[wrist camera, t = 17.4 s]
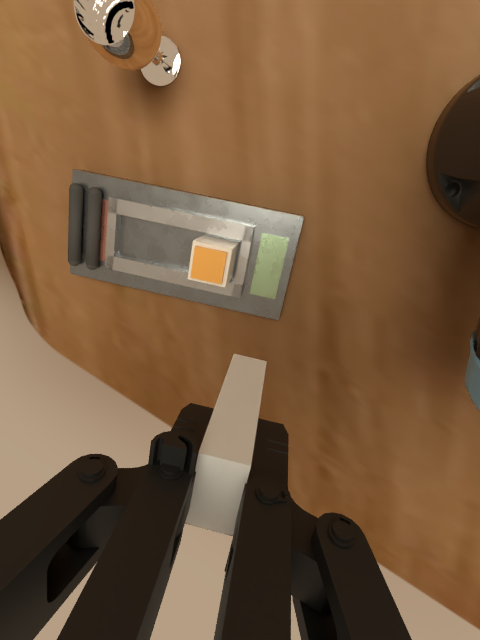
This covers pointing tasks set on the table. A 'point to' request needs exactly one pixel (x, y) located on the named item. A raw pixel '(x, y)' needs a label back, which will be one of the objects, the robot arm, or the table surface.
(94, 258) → the twin grey rollers
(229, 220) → the panel
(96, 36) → the wineglass
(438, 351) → the table surface
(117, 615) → the robot arm
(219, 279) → the toggle
